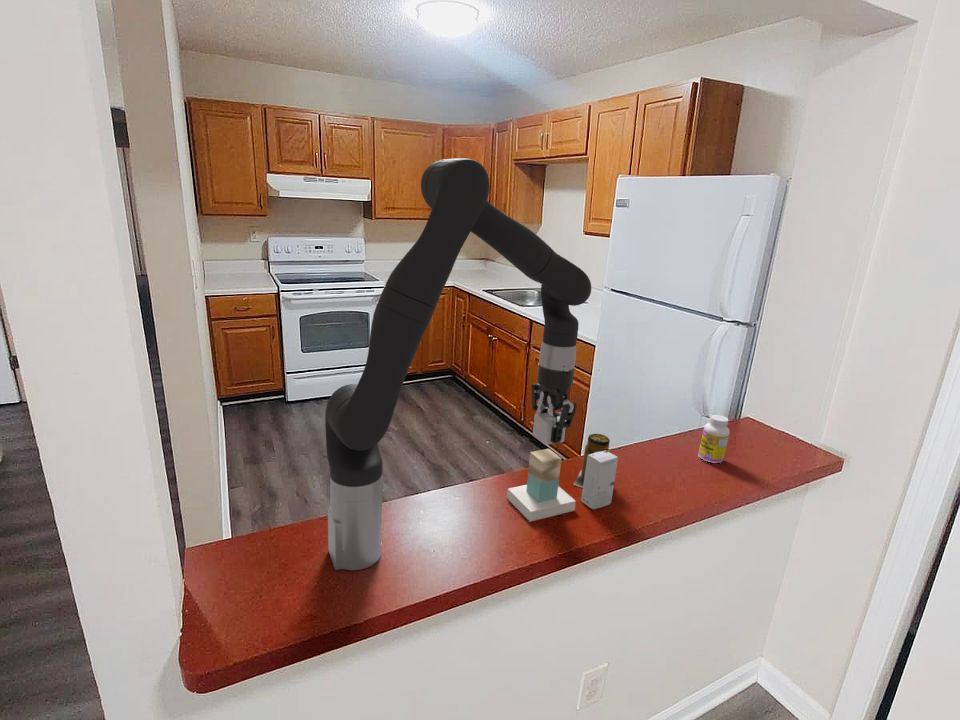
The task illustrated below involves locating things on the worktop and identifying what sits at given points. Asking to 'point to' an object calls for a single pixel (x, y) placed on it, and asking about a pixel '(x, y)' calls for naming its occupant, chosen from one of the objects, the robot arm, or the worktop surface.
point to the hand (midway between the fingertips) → (548, 436)
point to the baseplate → (540, 503)
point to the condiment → (593, 445)
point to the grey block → (545, 428)
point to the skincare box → (599, 479)
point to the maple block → (544, 465)
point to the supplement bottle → (714, 439)
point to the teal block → (542, 489)
